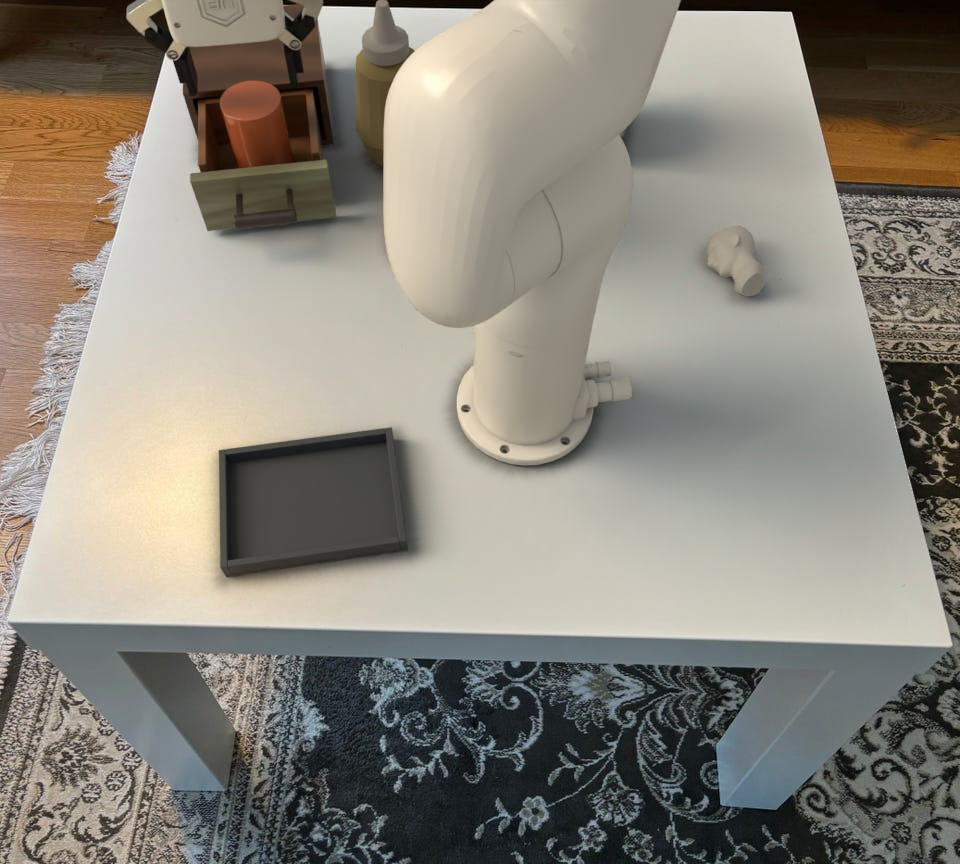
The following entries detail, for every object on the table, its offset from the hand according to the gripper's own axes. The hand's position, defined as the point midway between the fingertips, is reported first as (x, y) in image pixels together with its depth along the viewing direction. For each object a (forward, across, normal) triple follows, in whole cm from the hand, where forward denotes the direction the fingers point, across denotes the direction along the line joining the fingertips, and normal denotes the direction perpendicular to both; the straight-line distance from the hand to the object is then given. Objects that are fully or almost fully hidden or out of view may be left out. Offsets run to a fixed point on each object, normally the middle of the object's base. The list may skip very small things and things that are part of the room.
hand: (244, 82), depth 86 cm
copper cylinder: (+11, 0, 0) cm, 11 cm away
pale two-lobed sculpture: (+12, +46, -20) cm, 52 cm away
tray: (+12, +2, -40) cm, 42 cm away
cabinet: (+13, 0, +12) cm, 17 cm away
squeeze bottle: (+13, +14, +3) cm, 20 cm away
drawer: (+12, 0, -3) cm, 12 cm away
